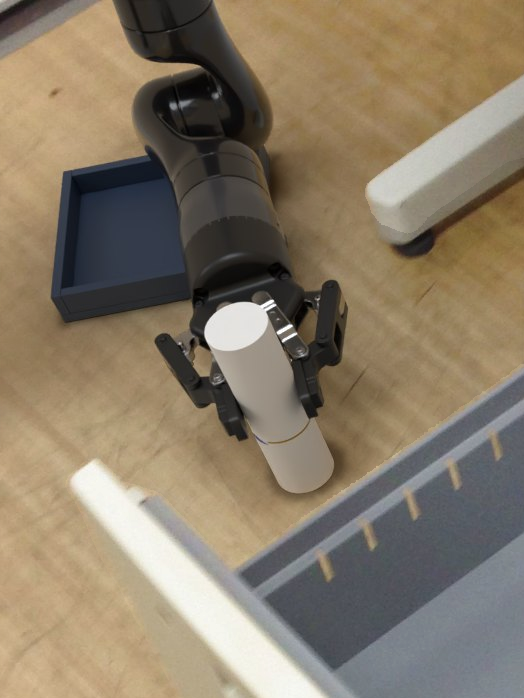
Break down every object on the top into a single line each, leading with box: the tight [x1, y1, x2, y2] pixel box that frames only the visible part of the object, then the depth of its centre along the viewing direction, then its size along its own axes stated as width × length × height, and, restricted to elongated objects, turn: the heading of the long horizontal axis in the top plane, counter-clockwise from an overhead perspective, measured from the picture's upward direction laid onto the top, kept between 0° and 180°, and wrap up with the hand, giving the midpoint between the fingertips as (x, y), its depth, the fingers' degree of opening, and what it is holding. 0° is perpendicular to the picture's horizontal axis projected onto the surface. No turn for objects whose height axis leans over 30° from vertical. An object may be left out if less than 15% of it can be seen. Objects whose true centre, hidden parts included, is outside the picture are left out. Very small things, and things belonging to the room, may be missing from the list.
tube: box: [204, 302, 335, 494], centre depth 123 cm, size 4×4×15 cm
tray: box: [50, 144, 271, 323], centre depth 144 cm, size 17×15×3 cm
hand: (275, 420), depth 121 cm, fingers closed on tube, 4 cm apart
